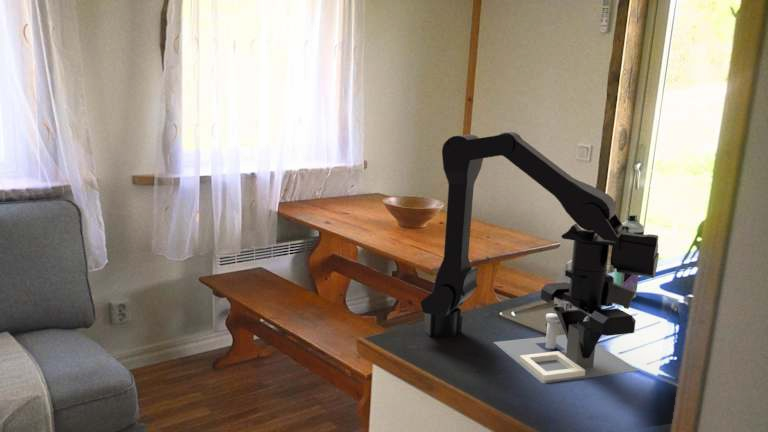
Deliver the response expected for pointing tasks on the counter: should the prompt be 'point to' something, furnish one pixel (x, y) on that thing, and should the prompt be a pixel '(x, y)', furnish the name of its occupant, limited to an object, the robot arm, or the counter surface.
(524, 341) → the hook board
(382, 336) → the counter surface
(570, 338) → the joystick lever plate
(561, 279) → the white gabled carton
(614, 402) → the counter surface
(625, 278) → the spray can
